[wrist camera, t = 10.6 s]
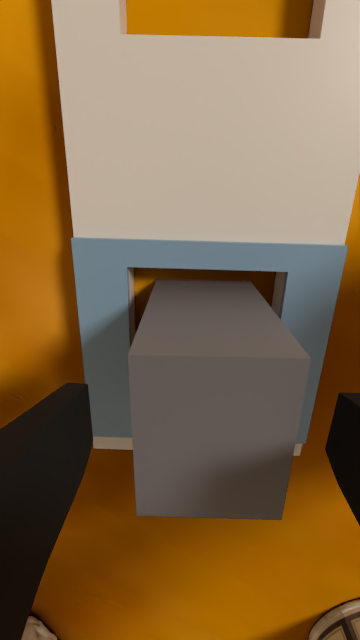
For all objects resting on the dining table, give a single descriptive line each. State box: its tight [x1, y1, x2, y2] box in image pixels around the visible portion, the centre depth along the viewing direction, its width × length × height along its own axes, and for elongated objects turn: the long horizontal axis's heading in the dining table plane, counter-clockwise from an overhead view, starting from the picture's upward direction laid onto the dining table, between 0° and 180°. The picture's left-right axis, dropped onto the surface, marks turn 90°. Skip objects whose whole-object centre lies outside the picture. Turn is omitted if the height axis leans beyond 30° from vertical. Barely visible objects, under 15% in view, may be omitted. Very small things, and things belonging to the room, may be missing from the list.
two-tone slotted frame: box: [51, 0, 360, 456], centre depth 11 cm, size 10×25×2 cm, turn 179°
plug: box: [128, 279, 311, 520], centre depth 11 cm, size 4×5×7 cm
